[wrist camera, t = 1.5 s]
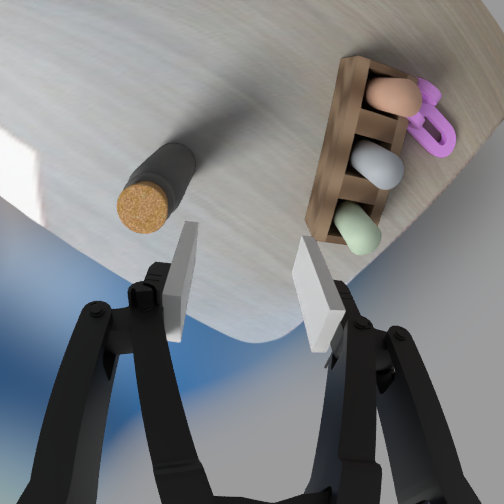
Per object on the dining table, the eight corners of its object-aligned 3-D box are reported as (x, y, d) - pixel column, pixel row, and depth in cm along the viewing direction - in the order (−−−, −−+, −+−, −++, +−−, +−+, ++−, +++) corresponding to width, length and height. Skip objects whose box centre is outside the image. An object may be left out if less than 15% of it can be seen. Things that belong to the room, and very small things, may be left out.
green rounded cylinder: (337, 197, 36) (354, 220, 31) (365, 203, 37) (386, 226, 31) (328, 226, 38) (343, 253, 33) (356, 230, 39) (374, 256, 33)
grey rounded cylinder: (353, 136, 32) (375, 148, 27) (382, 144, 33) (408, 157, 27) (345, 167, 34) (365, 185, 29) (373, 174, 35) (397, 193, 29)
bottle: (204, 158, 37) (186, 201, 25) (180, 193, 40) (153, 250, 27) (167, 134, 35) (128, 164, 23) (144, 170, 38) (100, 218, 25)
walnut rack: (340, 58, 31) (358, 55, 26) (394, 77, 32) (418, 78, 27) (304, 219, 43) (313, 240, 37) (355, 227, 44) (369, 248, 38)
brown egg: (366, 73, 28) (393, 72, 23) (396, 83, 29) (425, 86, 23) (360, 104, 30) (385, 110, 25) (389, 113, 31) (417, 122, 25)
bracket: (379, 105, 34) (403, 112, 28) (400, 76, 32) (427, 78, 26) (437, 162, 38) (464, 177, 32) (456, 135, 35) (484, 147, 29)
